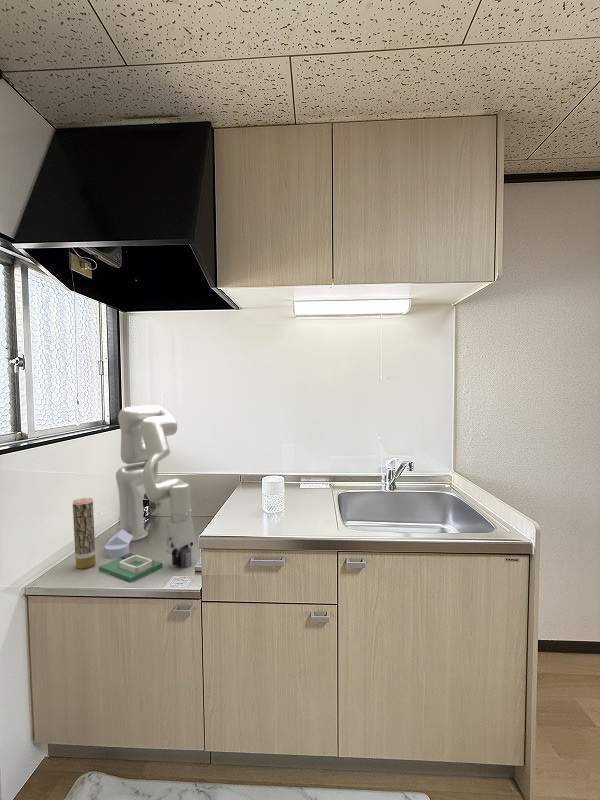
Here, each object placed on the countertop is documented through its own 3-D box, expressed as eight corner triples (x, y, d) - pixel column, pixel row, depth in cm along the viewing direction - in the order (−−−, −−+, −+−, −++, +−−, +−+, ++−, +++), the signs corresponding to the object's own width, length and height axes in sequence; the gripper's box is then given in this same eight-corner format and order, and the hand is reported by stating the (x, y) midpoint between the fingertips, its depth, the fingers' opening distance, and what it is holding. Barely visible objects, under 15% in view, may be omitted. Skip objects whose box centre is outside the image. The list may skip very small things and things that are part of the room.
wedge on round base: (111, 545, 190) (102, 558, 177) (110, 529, 190) (101, 541, 177) (133, 544, 191) (126, 556, 179) (133, 528, 191) (125, 540, 178)
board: (99, 570, 167) (98, 561, 167) (131, 556, 179) (130, 547, 179) (131, 582, 157) (130, 572, 157) (162, 566, 169) (162, 557, 169)
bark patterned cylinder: (85, 570, 167) (82, 504, 165) (71, 567, 169) (68, 502, 167) (99, 563, 173) (96, 498, 171) (86, 560, 176) (82, 497, 174)
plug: (172, 564, 171) (171, 549, 171) (180, 560, 174) (179, 545, 174) (185, 568, 167) (184, 552, 167) (192, 564, 171) (192, 549, 170)
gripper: (189, 508, 179) (191, 553, 180) (155, 521, 164) (157, 569, 166) (203, 511, 175) (205, 557, 176) (170, 524, 160) (172, 574, 162)
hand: (182, 563), depth 171 cm, fingers closed on plug, 4 cm apart
